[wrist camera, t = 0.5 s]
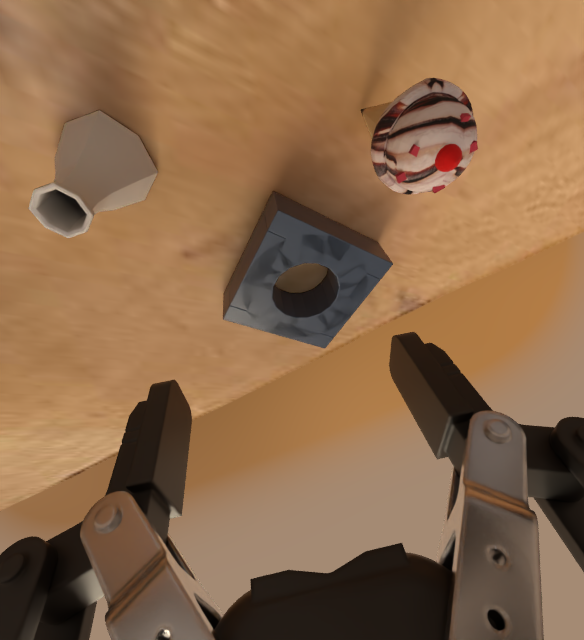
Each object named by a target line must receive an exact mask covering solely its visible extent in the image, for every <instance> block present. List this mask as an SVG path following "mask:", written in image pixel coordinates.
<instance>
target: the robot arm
mask: <svg viewBox="0 0 584 640" xmlns="http://www.w3.org/2000/svg"><path fill="white" fill-rule="evenodd" d="M389 366H390V373H391V376H392V379H393V381H394V383H395V384H396V386H397V388H398V390H399V392H400V393H401V395H402V397H403V399H404V401H405V402H406V404H407V406H408V408H409V410H410V411H411V413H412V415H413V417H414V419H415V420H416V422H417V424H418V426H419V428H420V429H421V431H422V433H423V435H424V437H425V438H426V440H427V442H428V444H429V446H430V447H431V449H432V451H433V453H434V455H435V456H436V458H437V459H440V458H445V457H449V459H450V460H451V462H452V464H453V467H452V472H451V479H450V486H449V493H448V501H447V507H446V514H445V520H444V526H443V531H442V534H441V538H440V543H439V548H438V553H437V560H436V562H435V561H433V560H431V559H429V558H426V557H423V556H420V555H417V554H413V553H406V552H405V550H404V547H403V545H402V543H399V544H395V545H391V546H387V547H383V548H378V549H374V550H370V551H366V552H364V553H362V554H361V555H359V556H358V557H356V558H354V559H353V560H351V561H349V562H348V563H346V564H345V565H343V566H341V567H340V568H338V569H337V570H335V571H334V572H331V573H315V572H305V571H293V570H287V571H282V572H279V573H274V574H270V575H266V576H262V577H257V578H254V579H251V590H250V591H248V592H247V593H245V594H244V595H243V596H242V597H240V598H239V599H238V600H237V601H236V602H235V603H234V604H233V605H232V606H231V607H230V608H229V609H228V610H227V612H226V613H225V614H224V615H223V614H222V612H221V610H220V609H219V607H218V606H217V604H216V603H215V602H214V600H213V599H212V597H211V596H210V595H209V593H208V592H207V591H206V590H205V588H204V587H203V586H202V584H201V583H200V581H199V580H198V579H197V577H196V575H195V574H194V572H193V571H192V569H191V568H190V566H189V564H188V563H187V561H186V560H185V558H184V557H183V556H182V554H181V552H180V550H179V549H178V548H177V546H176V544H175V543H174V541H173V540H172V538H171V536H170V535H169V534H168V527H169V520H170V518H175V517H179V516H182V507H183V498H184V489H185V479H186V469H187V461H188V451H189V442H190V433H191V424H192V416H191V410H190V407H189V404H188V402H187V401H186V399H185V397H184V395H183V393H182V391H181V389H180V387H179V385H178V383H177V382H176V381H175V380H171V381H166V382H161V383H156V384H152V386H151V387H150V391H149V395H148V399H147V401H142V402H139V403H138V404H137V406H136V407H135V409H134V410H133V412H132V413H131V414H130V416H129V419H128V422H127V426H126V429H125V431H126V433H124V436H123V439H122V445H121V446H120V449H119V453H118V456H117V460H116V463H115V466H114V470H113V473H112V477H111V480H110V483H109V487H108V490H107V492H106V495H105V496H104V497H103V498H102V499H100V500H99V501H98V502H97V503H95V504H94V506H93V507H92V508H91V509H90V510H89V512H88V513H87V515H86V516H85V518H84V520H83V521H82V522H81V523H79V524H77V525H75V526H74V527H72V528H70V529H68V530H66V531H65V532H63V533H61V534H59V535H57V536H55V537H54V538H52V539H50V540H48V541H44V540H42V539H41V538H39V537H27V538H24V539H21V540H19V541H17V542H16V543H14V544H13V545H11V546H10V547H9V548H7V549H6V550H5V551H4V552H3V553H2V554H1V555H0V640H89V637H90V633H91V628H92V623H93V618H94V613H95V608H96V604H97V600H99V599H100V598H102V597H103V596H105V598H106V601H107V603H108V608H109V610H108V612H107V613H106V615H105V622H106V626H107V630H108V632H109V635H110V637H111V640H544V638H543V616H542V596H541V575H540V553H539V532H538V521H537V516H536V514H535V512H534V511H532V510H530V508H529V505H528V497H534V499H535V500H536V502H537V503H538V504H539V506H540V508H541V509H542V511H543V512H544V514H545V515H546V517H547V518H548V519H549V521H550V523H551V524H552V526H553V527H554V529H555V530H556V532H557V533H558V534H559V536H560V537H561V539H562V540H563V542H564V543H565V545H566V546H567V548H568V549H569V551H570V552H571V554H572V555H573V557H574V558H575V560H576V561H577V563H578V564H579V566H580V567H581V568H582V570H583V572H584V418H579V417H567V418H564V419H562V420H560V421H559V423H558V424H557V425H556V427H555V428H553V427H542V426H529V425H521V424H518V423H517V422H515V421H514V420H513V419H512V418H510V417H508V416H506V415H504V414H502V413H499V412H496V411H493V410H492V409H491V408H490V407H489V406H488V405H487V403H486V402H485V401H484V400H483V398H482V397H481V396H480V395H479V394H478V392H477V391H476V390H475V388H474V387H473V386H472V385H471V384H470V382H469V381H468V380H467V379H466V377H465V376H464V375H463V374H462V373H461V372H460V370H459V369H458V367H457V366H456V365H455V364H453V361H452V360H451V359H450V357H449V356H448V355H447V354H446V353H445V351H443V350H442V349H440V348H439V347H437V346H436V345H434V344H432V343H427V344H424V343H423V342H422V341H421V339H420V338H419V336H418V335H417V334H416V333H415V332H410V333H405V334H400V335H395V336H393V337H392V342H391V353H390V363H389Z"/></svg>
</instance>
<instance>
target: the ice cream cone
mask: <svg viewBox="0 0 584 640" xmlns="http://www.w3.org/2000/svg"><path fill="white" fill-rule="evenodd" d="M361 113H362V115H363V118H364V120H365V123H366V126H367V128H368V131H369V133H370V136H371V138H372V144H371V156H372V162H373V166H374V169H375V172H376V174H377V176H378V178H379V179H380V180H381V181H382V182H383V183H384V184H385V185H386V186H387V187H389V188H390V189H392V190H393V191H396V192H398V193H401V194H418V193H422V192H431V191H433V192H434V193H436V192H438V191H440V190H442V189H443V188H445V186H447V185H448V184H450V183H451V182H453V181H454V180H455V179H456V178H457V177H458V176H460V175H461V173H462V172H463V171H464V170H465V169H466V167H467V165H468V164H469V162H470V161H471V158H472V156H473V154H474V151H475V150H477V149H478V147H477V127H476V123H475V119H474V117H473V111H472V107H471V103H470V101H469V99H468V97H467V95H466V94H465V93H464V92H463V91H462V90H461V89H460V88H459V87H458V86H456V85H454V84H452V83H451V82H448V81H445V80H442V79H437V78H427V79H424V80H423V81H421V82H419V83H417V84H415V85H414V86H412V87H410V88H409V89H407V90H406V91H405V92H403V93H402V94H401V95H400V96H398V97H397V98H396V99H395V100H394V101H393V102H390V103H386V104H382V105H378V106H374V107H369V108H365V109H361Z"/></svg>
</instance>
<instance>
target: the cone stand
mask: <svg viewBox="0 0 584 640" xmlns="http://www.w3.org/2000/svg"><path fill="white" fill-rule="evenodd" d="M303 263H317V264H320V265H322V266H325V267H327V268H328V273H327V276H326V277H325V279H324V280H323V281H322V283H321V284H320V285H318V286H317V287H315V288H314V289H313V290H310V291H307V292H304V293H288V292H285V291H282V290H280V289H279V288H278V287H276V286H275V285H274V284H275V283H276V281H277V279H278V278H279V276H280V275H281V274H283V273H284V272H285V271H287V270H288V269H289V268H291V267H294V266H297V265H300V264H303ZM392 265H393V263H392V261H391V260H390V259H389V257H388V256H387V254H386V253H385V252H384V250H383V249H382V247H381V246H380V245H379V243H378V242H376V241H374V240H372V239H370V238H368V237H366V236H364V235H362V234H360V233H358V232H356V231H354V230H352V229H349V228H347V227H345V226H343V225H341V224H339V223H337V222H335V221H333V220H331V219H329V218H327V217H325V216H323V215H321V214H319V213H317V212H315V211H313V210H311V209H309V208H307V207H305V206H303V205H301V204H299V203H297V202H295V201H292V200H290V199H288V198H286V197H284V196H282V195H280V194H278V193H276V192H274V191H273V192H272V194H271V196H270V198H269V200H268V202H267V204H266V206H265V208H264V211H263V212H262V215H261V217H260V219H259V221H258V223H257V225H256V227H255V229H254V231H253V233H252V236H251V238H250V240H249V242H248V244H247V246H246V248H245V250H244V252H243V254H242V257H241V259H240V261H239V263H238V265H237V267H236V269H235V271H234V273H233V275H232V278H231V280H230V282H229V284H228V286H227V288H226V290H225V292H224V301H223V320H227V321H230V322H234V323H237V324H241V325H244V326H248V327H251V328H255V329H258V330H262V331H265V332H269V333H272V334H276V335H279V336H283V337H286V338H290V339H293V340H297V341H301V342H304V343H308V344H311V345H315V346H318V347H322V348H326V347H327V345H328V344H329V343H330V342H331V340H332V339H333V338H334V337H335V335H336V334H337V333H338V332H339V330H340V329H341V328H342V327H343V326H344V324H345V323H346V322H347V321H348V319H349V318H350V317H351V316H352V314H353V313H354V312H355V311H356V309H357V308H358V307H359V306H360V304H361V303H362V302H363V301H364V299H365V298H366V297H367V296H368V295H369V293H370V292H371V291H372V290H373V288H374V287H375V286H376V285H377V283H378V282H379V281H380V279H381V278H382V277H383V276H384V275H385V273H386V272H387V271H388V270H389V269H390V267H391V266H392Z"/></svg>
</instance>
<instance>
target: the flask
mask: <svg viewBox="0 0 584 640" xmlns="http://www.w3.org/2000/svg"><path fill="white" fill-rule="evenodd" d="M55 171H56V173H55V180H54V182H53V183H50V184H47V185H45V186H42V187H39V188H36V189H34V190H33V194H32V197H31V201H30V205H29V208H28V209H29V210H30V211H31V212H32V213H33V214H34V215H35V217H36V218H37V219H38V220H39V221H40V222H41V223H42V224H43V226H44V227H45V228H47V229H49V230H52V231H54V232H56V233H58V234H60V235H63V236H65V237H67V238H71V237H74V236H76V235H79V234H82V233H85V232H87V231H88V229H89V227H90V224H91V222H92V219H93V217H94V215H95V214H96V213H98V212H101V211H111V210H116V209H119V208H122V207H125V206H128V205H131V204H134V203H137V202H140V201H143V200H145V198H146V196H147V194H148V192H149V190H150V188H151V186H152V184H153V182H154V180H155V178H156V176H157V173H158V171H157V169H156V167H155V166H154V164H153V162H152V160H151V158H150V156H149V154H148V153H147V151H146V149H145V147H144V145H143V143H142V141H141V140H140V138H139V136H138V135H136V134H135V133H133V132H132V131H130V130H129V129H127V128H126V127H124V126H123V125H121V124H120V123H118V122H117V121H115V120H114V119H112V118H111V117H109V116H108V115H106V114H105V113H103V112H102V111H100V110H98V111H96V112H93V113H90V114H88V115H85V116H82V117H79V118H77V119H74V120H71V121H69V122H66V123H65V124H64V128H63V131H62V134H61V138H60V141H59V144H58V148H57V151H56V154H55Z"/></svg>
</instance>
